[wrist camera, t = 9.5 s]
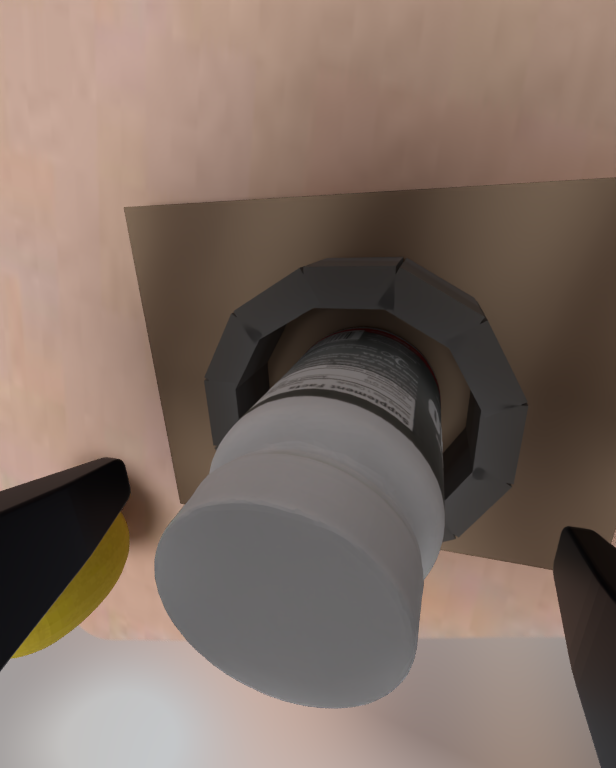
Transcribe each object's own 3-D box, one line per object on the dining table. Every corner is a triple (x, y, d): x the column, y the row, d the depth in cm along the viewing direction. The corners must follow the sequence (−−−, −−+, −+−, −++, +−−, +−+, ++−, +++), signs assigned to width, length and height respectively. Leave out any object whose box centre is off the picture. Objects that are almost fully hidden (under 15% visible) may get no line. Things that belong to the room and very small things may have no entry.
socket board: (697, 176, 10) (832, 153, 6) (587, 551, 14) (633, 651, 11) (146, 208, 14) (60, 204, 11) (194, 487, 19) (143, 544, 15)
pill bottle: (412, 474, 14) (388, 776, 6) (286, 430, 14) (131, 651, 7) (463, 348, 12) (518, 574, 4) (313, 306, 12) (135, 430, 5)
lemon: (71, 443, 20) (-129, 567, 13) (167, 485, 19) (9, 641, 12) (73, 522, 22) (-95, 661, 15) (158, 561, 21) (22, 730, 14)
